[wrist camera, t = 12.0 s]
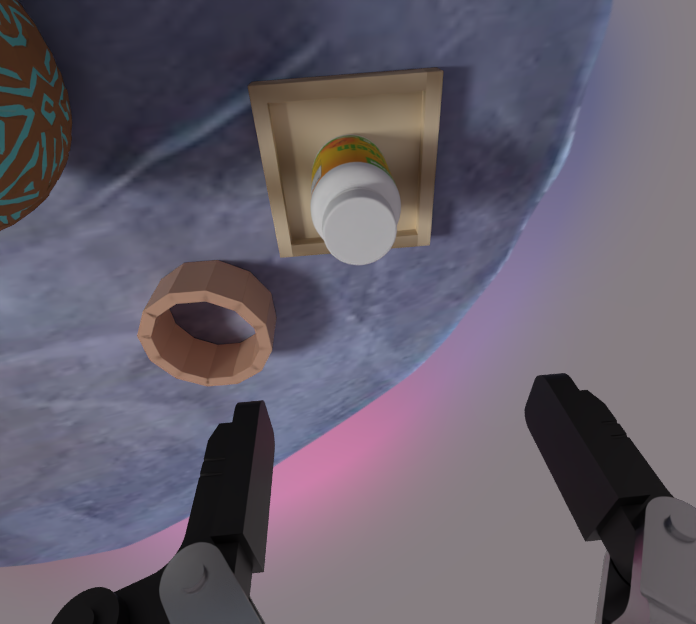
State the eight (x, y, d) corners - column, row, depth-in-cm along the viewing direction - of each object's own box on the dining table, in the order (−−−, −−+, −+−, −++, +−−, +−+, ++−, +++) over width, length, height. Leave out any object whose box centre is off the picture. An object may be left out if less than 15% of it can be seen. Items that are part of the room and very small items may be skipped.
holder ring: (138, 266, 33) (117, 297, 29) (262, 256, 33) (256, 286, 30) (179, 355, 39) (165, 389, 36) (283, 346, 40) (279, 380, 36)
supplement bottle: (396, 144, 27) (427, 198, 20) (372, 214, 30) (390, 284, 23) (321, 122, 26) (323, 170, 19) (304, 197, 29) (299, 265, 22)
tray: (251, 81, 25) (247, 86, 24) (436, 67, 25) (443, 70, 24) (282, 246, 33) (280, 257, 31) (424, 234, 33) (429, 245, 31)
